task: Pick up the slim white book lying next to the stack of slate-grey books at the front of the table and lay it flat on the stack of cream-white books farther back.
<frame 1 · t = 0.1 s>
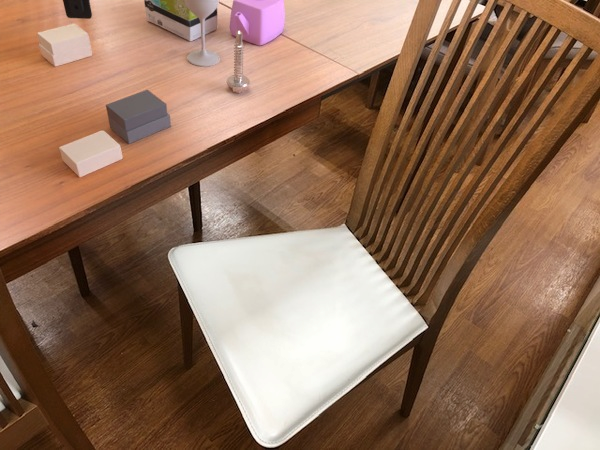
hand: (85, 2, 72), 25 cm above the table, tool pointing down, fingers open, 9 cm apart
screw: (238, 90, 107), on the table
grey stack: (141, 127, 94), on the table
white stack: (67, 55, 109), on the table
tea box: (182, 26, 124), on the table
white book: (93, 160, 87), on the table
teapot: (256, 34, 125), on the table
wineglass: (203, 59, 114), on the table
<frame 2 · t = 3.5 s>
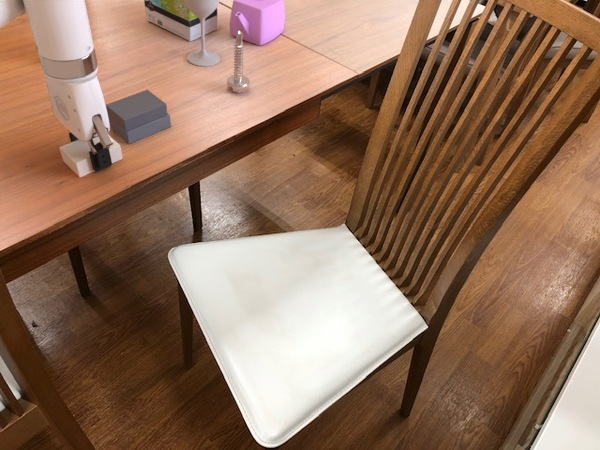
hand: (92, 157, 86), 1 cm above the table, tool pointing down, fingers closed on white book, 5 cm apart
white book: (93, 160, 87), on the table, touching gripper
everything else where it was.
when the fingers open (5 cm above the table, at t = 11.0 s): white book stays where it is, resting on white stack.
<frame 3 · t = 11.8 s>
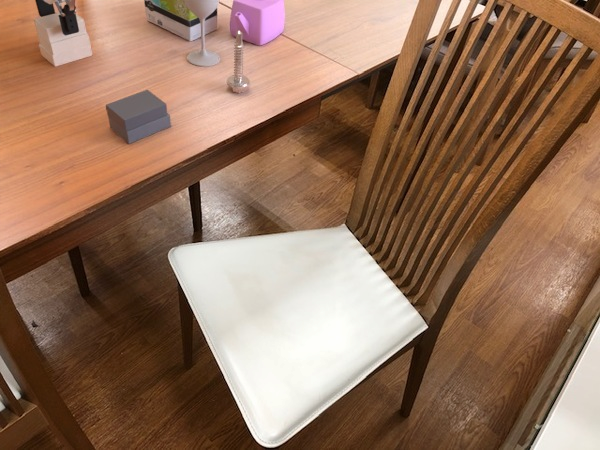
hand: (59, 24, 104), 7 cm above the table, tool pointing down, fingers open, 9 cm apart
white stack: (67, 55, 109), on the table, touching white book
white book: (62, 33, 106), point 5 cm above the table, touching white stack
everything else where it was.
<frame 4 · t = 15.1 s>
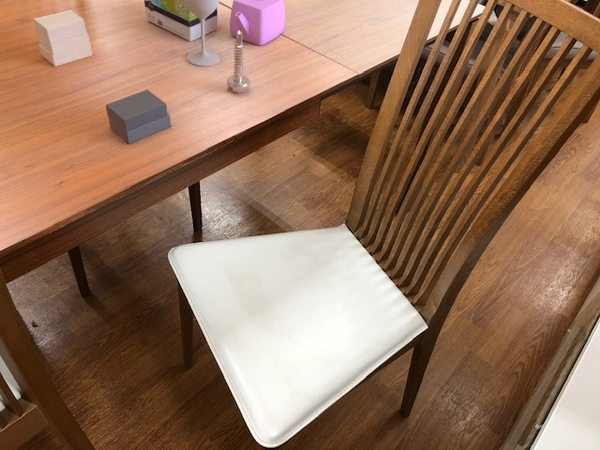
nothing on the table moved.
at the end: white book 0.1 cm off-centre on the white stack, point 5.0 cm above the white stack's base; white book tilted 0°; grey stack moved 0.0 cm from its start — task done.
